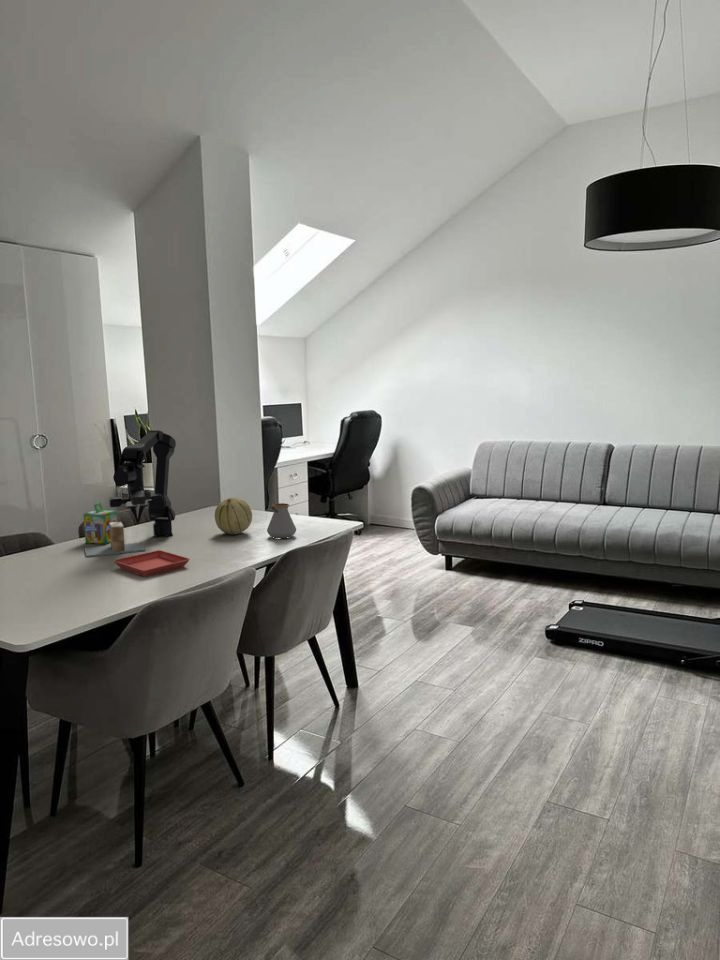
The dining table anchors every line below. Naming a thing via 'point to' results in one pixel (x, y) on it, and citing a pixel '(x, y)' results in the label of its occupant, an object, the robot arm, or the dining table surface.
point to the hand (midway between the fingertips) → (137, 523)
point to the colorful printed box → (98, 525)
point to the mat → (108, 550)
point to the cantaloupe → (233, 516)
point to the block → (117, 536)
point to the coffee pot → (281, 522)
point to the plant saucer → (152, 562)
